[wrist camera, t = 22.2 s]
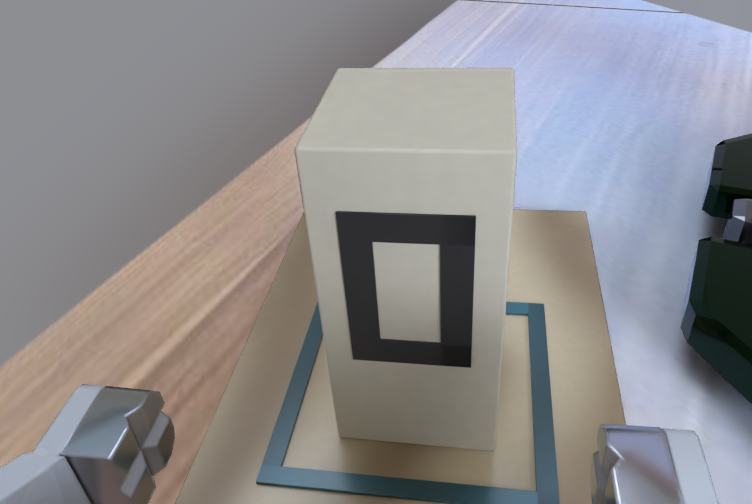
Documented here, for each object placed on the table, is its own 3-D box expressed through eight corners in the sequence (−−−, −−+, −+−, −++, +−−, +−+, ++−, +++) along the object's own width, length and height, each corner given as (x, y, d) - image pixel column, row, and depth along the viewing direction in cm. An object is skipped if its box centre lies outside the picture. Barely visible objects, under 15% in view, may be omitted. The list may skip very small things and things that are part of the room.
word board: (50, 813, 14) (29, 796, 13) (308, 213, 32) (305, 192, 31) (715, 945, 11) (732, 934, 11) (584, 221, 30) (587, 200, 29)
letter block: (337, 440, 20) (292, 149, 14) (364, 331, 24) (337, 66, 18) (495, 454, 19) (517, 153, 13) (496, 339, 23) (514, 66, 17)
